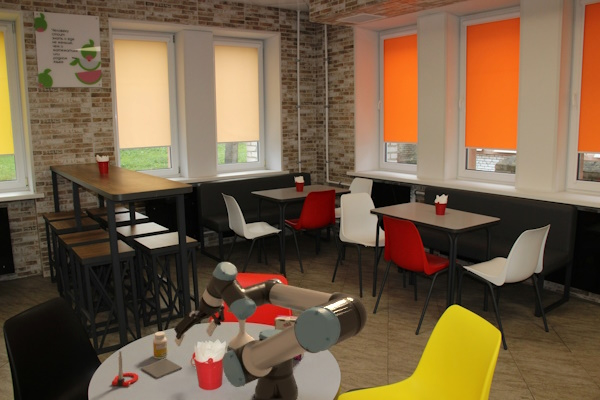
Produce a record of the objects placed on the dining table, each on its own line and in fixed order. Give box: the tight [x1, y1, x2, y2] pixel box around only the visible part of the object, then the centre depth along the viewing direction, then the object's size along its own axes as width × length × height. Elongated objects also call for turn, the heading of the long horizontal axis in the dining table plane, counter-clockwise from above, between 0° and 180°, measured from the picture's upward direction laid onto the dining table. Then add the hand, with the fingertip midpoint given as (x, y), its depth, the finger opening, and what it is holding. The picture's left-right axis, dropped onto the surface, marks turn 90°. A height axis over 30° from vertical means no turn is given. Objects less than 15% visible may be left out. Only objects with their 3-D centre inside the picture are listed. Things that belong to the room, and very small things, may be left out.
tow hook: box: [111, 350, 139, 387], centre depth 201 cm, size 8×13×9 cm
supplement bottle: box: [152, 331, 168, 360], centre depth 221 cm, size 5×5×10 cm
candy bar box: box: [274, 314, 305, 361], centre depth 220 cm, size 11×5×16 cm, turn 76°
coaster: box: [140, 358, 183, 380], centre depth 210 cm, size 11×11×1 cm
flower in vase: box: [226, 308, 256, 350], centre depth 228 cm, size 13×11×25 cm
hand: (193, 338), depth 199 cm, fingers open, 13 cm apart
